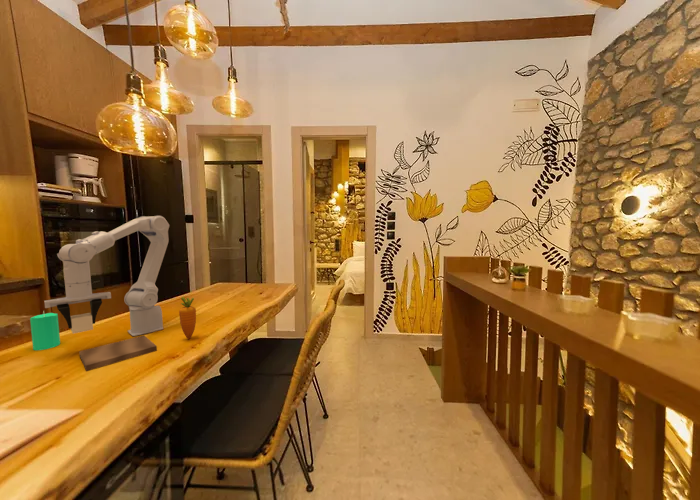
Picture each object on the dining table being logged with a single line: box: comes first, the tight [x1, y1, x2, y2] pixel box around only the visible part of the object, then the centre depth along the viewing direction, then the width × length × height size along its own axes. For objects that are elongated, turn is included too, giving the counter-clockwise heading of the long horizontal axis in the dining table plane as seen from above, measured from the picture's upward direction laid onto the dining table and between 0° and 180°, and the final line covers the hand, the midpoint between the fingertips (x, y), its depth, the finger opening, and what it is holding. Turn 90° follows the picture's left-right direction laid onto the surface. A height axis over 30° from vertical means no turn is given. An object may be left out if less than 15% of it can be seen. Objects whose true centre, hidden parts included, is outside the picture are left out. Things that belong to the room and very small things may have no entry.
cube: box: [70, 312, 94, 335], centre depth 85 cm, size 4×4×4 cm
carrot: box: [178, 296, 197, 340], centre depth 93 cm, size 5×5×15 cm
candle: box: [29, 310, 61, 351], centre depth 89 cm, size 6×6×12 cm
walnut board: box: [78, 334, 158, 372], centre depth 83 cm, size 16×14×2 cm
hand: (82, 325), depth 85 cm, fingers closed on cube, 4 cm apart
